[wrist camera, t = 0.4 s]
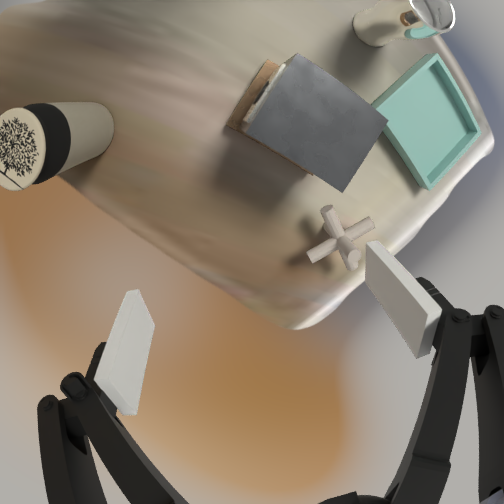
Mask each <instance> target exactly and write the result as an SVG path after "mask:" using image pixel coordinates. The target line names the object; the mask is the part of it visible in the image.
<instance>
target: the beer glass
mask: <svg viewBox="0 0 504 504" xmlns="http://www.w3.org/2000/svg"><path fill="white" fill-rule="evenodd" d="M454 25H455V12H454V8H453V6H452V4H451V2H450V0H379V1H378V2H377V3H376V4H375V6H374V7H373V8H371V9H367V10H363V11H360V12H358V13H357V14H356V15H355V17H354V20H353V27H354V30H355V33H356V34H357V36H358V37H359V38H360V39H361V40H362V41H363V42H364V43H366V44H368V45H370V46H374V47H380V46H383V45H385V44H387V43H388V42H390V41H391V40H418V39H425V38H429V37H432V36H435V35H439V34H441V33H445V32H448V31H450V30H451V29H452V28H453V27H454Z"/></svg>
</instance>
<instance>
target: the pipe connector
mask: <svg viewBox="0 0 504 504" xmlns="http://www.w3.org/2000/svg"><path fill="white" fill-rule="evenodd" d="M320 212H321V214H322V216H323V219H324V221H325V223H324V225H323V227H324V229H325V231H326V232H327V233H328V234H329V236H330V237H331V238H330V239H328V240H326V241H324V242H323V243H321V244H319V245H317V246H315V247H314V248H312V249H310V250H308V251H307V252H306V253H307V255H308V256H309V258H310V260H311V262H312V264H313V263H314V262H316V261H318V260H320V259H322V258H323V257H325V256H327V255H329V254H331V253H332V252H334V251H336V250H339V252H340V254H341V257H342V259H343V261H344V263H345V265H346V268H347V269H348V270H354V269H356V268H357V267H358V262H357V261H359V259H360V258H361V252H360V250H359V249H358V248H357V247H356V246H355V245H354V243H353V242H352V241H353V240H355V239H357V238H359V237H360V236H362V235H364V234H365V233H367V232H369V231H371V230H372V229H374V228H375V225H374V222H373V221H372V219H371V218H370V217H369V216H368V217H366V218H365V219H363V220H361V221H359V222H358V223H356V224H354V225H353V226H351V227H349V228H347V229H346V230H344V229H343V227H342V225H341V223H340V221H339V218H338V216H337V214H336V212H335V210H334V208H333V205H327V206H324V207H323V208H322V209H321V210H320Z"/></svg>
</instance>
